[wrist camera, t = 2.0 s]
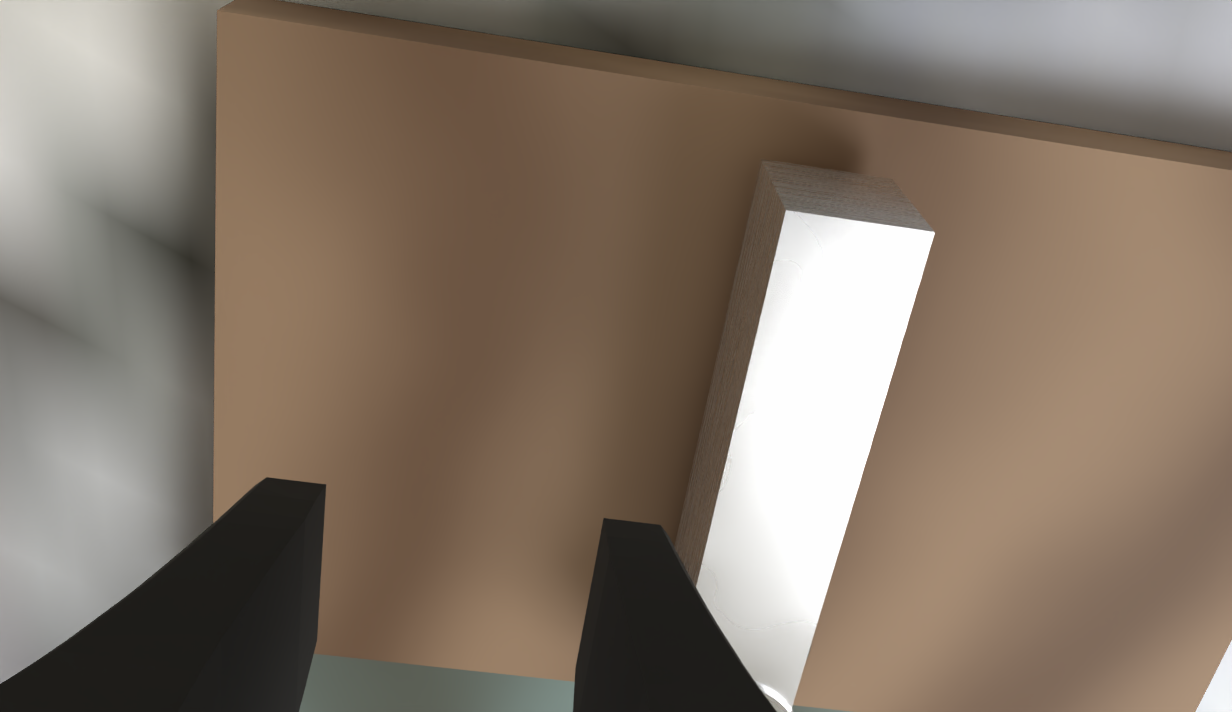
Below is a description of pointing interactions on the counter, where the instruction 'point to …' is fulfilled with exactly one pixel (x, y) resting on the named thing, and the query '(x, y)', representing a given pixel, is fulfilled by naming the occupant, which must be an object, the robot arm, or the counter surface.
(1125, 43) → the counter surface
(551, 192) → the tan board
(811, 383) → the lock bar
